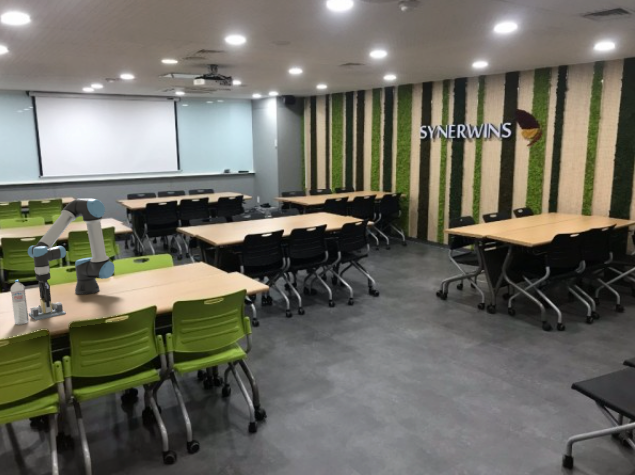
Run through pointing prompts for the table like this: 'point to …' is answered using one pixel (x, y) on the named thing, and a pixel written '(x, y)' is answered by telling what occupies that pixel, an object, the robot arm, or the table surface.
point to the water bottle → (19, 303)
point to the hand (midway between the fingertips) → (47, 311)
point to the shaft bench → (56, 310)
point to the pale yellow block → (44, 305)
